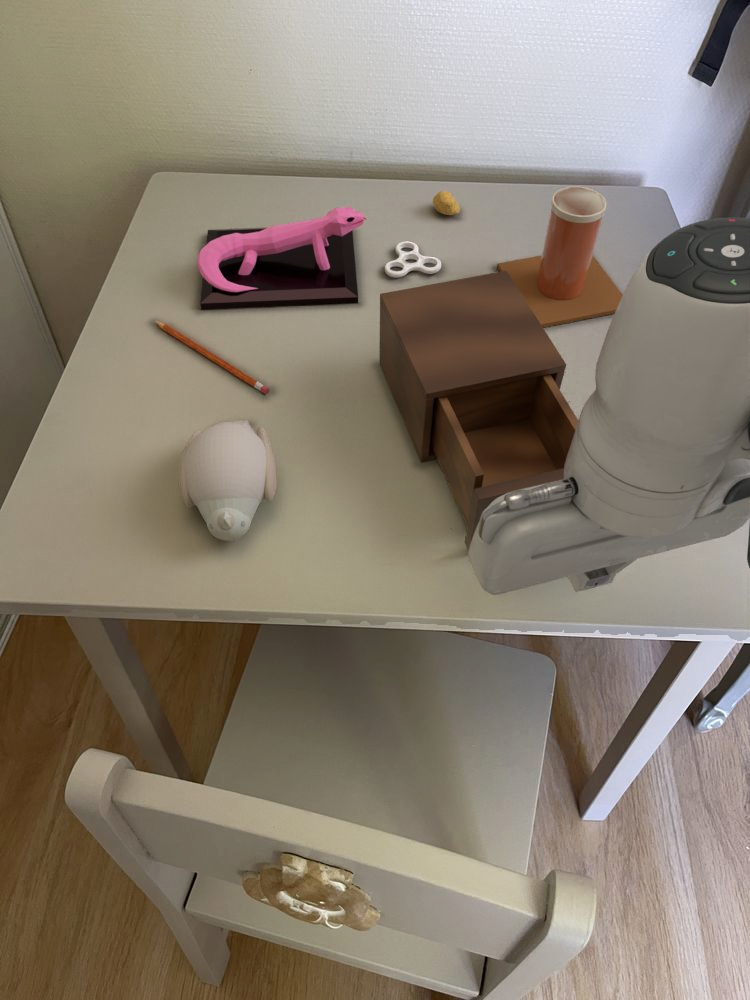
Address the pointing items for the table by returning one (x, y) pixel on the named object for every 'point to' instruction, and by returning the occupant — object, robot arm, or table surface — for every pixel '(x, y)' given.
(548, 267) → the tumbler
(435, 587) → the table surface
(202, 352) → the pencil
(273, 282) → the dark display base
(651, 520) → the robot arm
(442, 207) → the rock
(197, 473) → the decorative bird
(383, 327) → the cabinet
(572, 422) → the drawer
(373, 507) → the table surface
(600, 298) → the mat
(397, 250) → the fidget spinner
